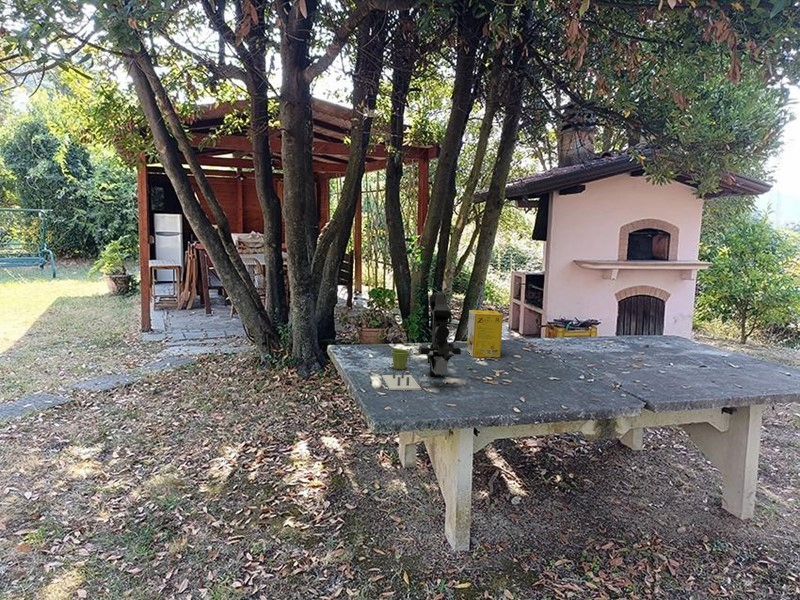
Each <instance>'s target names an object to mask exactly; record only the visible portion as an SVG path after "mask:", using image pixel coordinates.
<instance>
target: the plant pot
mask: <svg viewBox="0 0 800 600" xmlns="http://www.w3.org/2000/svg"><path fill="white" fill-rule="evenodd" d="M390 352H391V356H392V362H393V368H394V370H405V369H406V368H407V364H408V357H409V356H410V355H409V354H410V351H409V350H405V349H392V350H391V351H390Z"/></svg>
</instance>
